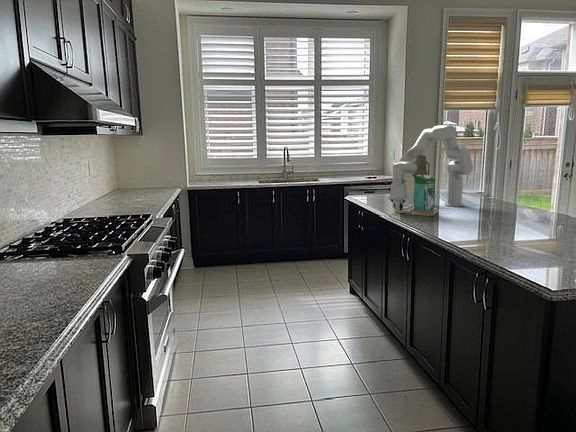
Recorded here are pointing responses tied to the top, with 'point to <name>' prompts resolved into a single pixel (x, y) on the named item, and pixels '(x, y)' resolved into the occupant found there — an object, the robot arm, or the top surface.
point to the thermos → (421, 166)
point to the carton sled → (412, 211)
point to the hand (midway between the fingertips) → (398, 209)
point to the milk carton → (424, 192)
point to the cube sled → (408, 207)
